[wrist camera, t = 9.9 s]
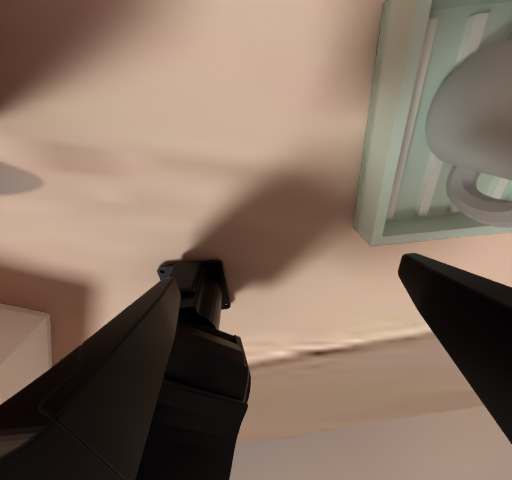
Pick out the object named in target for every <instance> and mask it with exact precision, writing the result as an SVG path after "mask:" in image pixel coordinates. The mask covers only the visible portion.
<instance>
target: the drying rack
mask: <svg viewBox="0 0 512 480" xmlns="http://www.w3.org/2000/svg"><path fill="white" fill-rule="evenodd" d="M509 40H512V0H387V1H385V2H384V3H383V10H382V17H381V24H380V32H379V39H378V46H377V54H376V61H375V69H374V76H373V83H372V91H371V98H370V105H369V113H368V120H367V127H366V135H365V142H364V149H363V157H362V164H361V171H360V179H359V186H358V194H357V201H356V208H355V216H354V223H353V228H354V229H355V230H356V231H357V232H358V233H359V234H360V236H361V237H362V238H363V239H364V240H365V241H366V242H367V243H368V244H369V245H370V246H378V245H388V244H398V243H408V242H418V241H428V240H438V239H448V238H457V237H467V236H477V235H487V234H497V233H507V232H512V228H499V227H495V226H491V225H486V224H482V223H480V222H478V221H476V220H474V219H471V218H469V217H467V216H466V215H465V214H464V213H462V212H461V211H460V210H459V209H457V208H456V207H455V206H454V205H453V204H452V202H451V201H450V199H449V198H448V196H447V191H446V182H447V178H448V175H449V172H450V170H451V168H452V167H453V165H452V164H449V163H447V162H444V161H441V160H439V159H438V158H437V157H436V156H435V155H434V154H433V153H432V152H431V150H430V148H429V146H428V144H427V140H426V132H425V126H426V118H427V114H428V111H429V108H430V105H431V102H432V100H433V98H434V97H435V95H436V93H437V92H438V90H439V88H440V86H441V85H442V84H443V83H444V82H445V80H446V79H447V78H448V77H449V76H450V74H451V73H452V72H453V71H454V70H455V69H456V68H457V67H458V66H459V65H460V64H462V63H463V62H464V61H465V60H466V59H468V58H469V57H470V56H472V55H473V54H475V53H477V52H479V51H481V50H483V49H484V48H486V47H489V46H492V45H495V44H498V43H501V42H505V41H509ZM476 187H477V189H478V190H479V192H481V193H483V194H484V195H487V196H490V197H492V198H495V199H501V200H507V201H512V180H509V179H505V178H501V177H497V176H493V175H489V174H485V173H482V172H481V173H480V175H479V177H478V179H477V182H476Z"/></svg>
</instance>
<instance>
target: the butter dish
mask: <svg viewBox="0 0 512 480" xmlns="http://www.w3.org/2000/svg"><path fill="white" fill-rule="evenodd" d="M51 367H52V347H51V322H50V313H45V312H40V311H36V310H31V309H26V308H21V307H16V306H11V305H6V304H2V303H0V405H1V404H2V403H3V402H5V401H6V400H8V399H9V398H10V397H12V396H13V395H15V394H16V393H17V392H19V391H20V390H21V389H23V388H24V387H26V386H27V385H28V384H30V383H31V382H33V381H34V380H35V379H37V378H38V377H39V376H41V375H42V374H43V373H45V372H46V371H47V370H49V369H50V368H51Z"/></svg>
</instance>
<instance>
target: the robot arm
mask: <svg viewBox="0 0 512 480" xmlns="http://www.w3.org/2000/svg"><path fill="white" fill-rule="evenodd" d="M216 264H219V266H217V265H216ZM161 269H163V270H165V271H162V270H161ZM157 272H158V275H159V277H160V280H161V281H160V282H158V283H157V284H156V285H155V286H153V287H152V288H151V289H150V290H148V291H147V292H146V293H145V294H143V295H142V296H141V297H140V298H138V299H137V300H136V301H135V302H133V303H132V304H131V305H130V306H128V307H127V308H126V309H125V310H123V311H122V312H121V313H120V314H118V315H117V316H116V317H115V318H113V319H112V320H111V321H110V322H108V323H107V324H106V325H105V326H103V327H102V328H101V329H100V330H98V331H97V332H96V333H95V334H93V335H92V336H91V337H90V338H88V339H87V340H86V341H85V342H83V343H82V345H79V346H78V347H77V348H76V349H74V350H73V351H72V352H71V353H69V354H68V355H67V356H66V357H64V358H63V359H62V360H60V361H59V362H58V363H57V364H55V365H54V366H53V367H51V368H50V369H49V370H47V371H46V372H45V373H43V374H42V375H41V376H39V377H38V378H37V379H35V380H34V381H33V382H31V383H30V384H28V385H27V386H26V387H24V388H23V389H21V390H20V391H19V392H17V393H16V394H15V395H13V396H12V397H10V398H9V399H8V400H6V401H5V402H3V403H2V404H1V405H0V480H229V478H230V472H231V466H232V460H233V455H234V449H235V444H236V440H237V436H238V433H239V429H240V426H241V423H242V420H243V418H244V415H245V413H246V411H247V408H248V404H247V401H248V398H249V393H250V385H251V376H250V371H249V367H248V364H247V360H246V356H245V353H244V349H243V345H242V342H241V338H240V337H239V336H236V335H234V336H233V335H230V334H227V333H225V332H222V331H220V330H219V323H220V314H221V310H222V309H228V308H230V305H231V302H230V297H229V292H228V287H227V282H226V277H225V272H224V267H223V262H222V261H221V260H218V259H216V260H206V261H190V262H180V263H175V264H167V265H160V266H159V268H158V270H157ZM398 275H399V278H400V280H401V281H402V283H403V285H404V287H405V288H406V290H407V292H408V294H409V296H410V297H411V299H412V301H413V303H414V305H415V306H416V308H417V310H418V311H419V313H420V314H421V316H422V317H423V319H424V320H425V321H426V323H427V324H428V326H429V327H430V328H431V330H432V331H433V333H434V334H435V336H436V337H437V338H438V340H439V341H440V343H441V344H442V346H443V347H444V348H445V350H446V351H447V353H448V354H449V356H450V357H451V358H452V360H453V361H454V363H455V364H456V366H457V367H458V368H459V370H460V371H461V373H462V374H463V375H464V377H465V378H466V380H467V381H468V383H469V384H470V385H471V387H472V388H473V390H474V391H475V393H476V394H477V395H478V397H479V398H480V400H481V401H482V403H483V404H484V405H485V407H486V408H487V410H488V411H489V412H490V414H491V415H492V417H493V418H494V420H495V421H496V423H497V424H498V425H499V427H500V428H501V430H502V431H503V432H504V434H505V435H506V437H507V438H508V440H509V441H510V442H511V444H512V287H509V286H506V285H503V284H500V283H498V282H495V281H492V280H489V279H486V278H484V277H481V276H478V275H475V274H473V273H470V272H467V271H464V270H461V269H459V268H456V267H453V266H450V265H447V264H445V263H442V262H439V261H436V260H433V259H431V258H428V257H425V256H422V255H419V254H417V253H409V254H404V255H403V256H402V258H401V262H400V266H399V269H398ZM225 304H227V305H225Z"/></svg>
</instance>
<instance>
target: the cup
mask: <svg viewBox="0 0 512 480" xmlns="http://www.w3.org/2000/svg"><path fill="white" fill-rule="evenodd" d="M425 132H426V140H427V144H428V146H429V148H430V150H431V152H432V153H433V154H434V155H435V156H436V157H437V158H438V159H439V160H441V161H444V162H447V163H449V164H452V165H453V167H452V168H451V170H450V172H449V175H448V178H447V182H446V191H447V196H448V198H449V199H450V201H451V202H452V204H453V205H454V206H455V207H456V208H457V209H459V210H460V211H461V212H462V213H464V214H465V215H466V216H467V217H469V218H471V219H474V220H476V221H478V222H480V223H482V224H486V225H491V226H495V227H499V228H512V201H507V200H501V199H495V198H492V197H490V196H487V195H484V194H483V193H481V192H479V190H478V189H477V187H476V182H477V179H478V177H479V175H480V173H481V172H482V173H485V174H489V175H493V176H497V177H501V178H505V179H509V180H512V40H509V41H505V42H501V43H498V44H495V45H492V46H489V47H486V48H484V49H483V50H481V51H479V52H477V53H475V54H473V55H472V56H470V57H469V58H468V59H466V60H465V61H464V62H463V63H462V64H460V65H459V66H458V67H457V68H456V69H455V70H454V71H453V72H452V73H451V74H450V76H449V77H448V78H447V79H446V80H445V82H444V83H443V84H442V85H441V86H440V88H439V90H438V92H437V93H436V95H435V97H434V98H433V100H432V102H431V105H430V108H429V111H428V114H427V118H426V126H425Z"/></svg>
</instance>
